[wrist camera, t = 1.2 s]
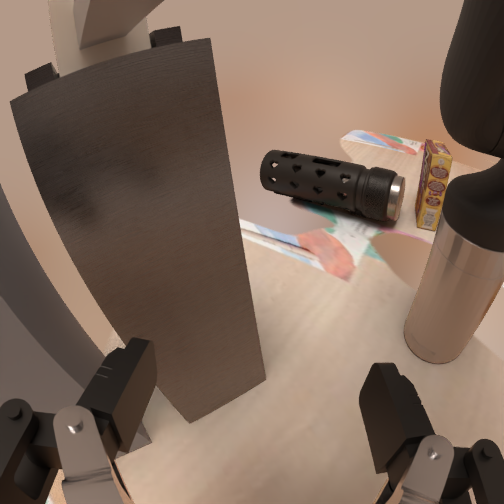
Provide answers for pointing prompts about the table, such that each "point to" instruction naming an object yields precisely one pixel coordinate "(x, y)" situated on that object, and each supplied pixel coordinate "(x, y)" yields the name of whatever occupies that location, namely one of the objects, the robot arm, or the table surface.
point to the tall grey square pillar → (40, 333)
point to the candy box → (432, 184)
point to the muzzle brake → (334, 183)
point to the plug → (97, 30)
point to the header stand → (150, 210)
